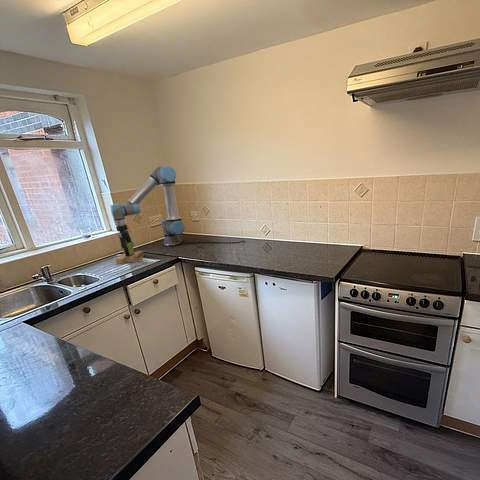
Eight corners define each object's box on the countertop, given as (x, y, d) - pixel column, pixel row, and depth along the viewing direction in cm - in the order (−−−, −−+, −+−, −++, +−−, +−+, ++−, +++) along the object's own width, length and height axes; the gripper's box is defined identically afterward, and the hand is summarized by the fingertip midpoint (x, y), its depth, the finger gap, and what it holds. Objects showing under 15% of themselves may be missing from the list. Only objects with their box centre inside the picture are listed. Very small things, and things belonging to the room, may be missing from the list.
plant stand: (144, 255, 241) (143, 250, 239) (138, 261, 226) (137, 256, 224) (124, 258, 239) (123, 253, 238) (117, 264, 225) (115, 259, 223)
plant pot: (126, 253, 235) (122, 242, 232) (138, 251, 236) (135, 241, 232) (121, 257, 226) (118, 246, 223) (133, 255, 227) (130, 244, 224)
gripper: (121, 223, 232) (129, 251, 240) (110, 228, 213) (120, 258, 221) (130, 222, 233) (138, 249, 241) (121, 227, 213) (130, 257, 221)
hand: (129, 254), depth 231 cm, fingers closed on plant pot, 8 cm apart
